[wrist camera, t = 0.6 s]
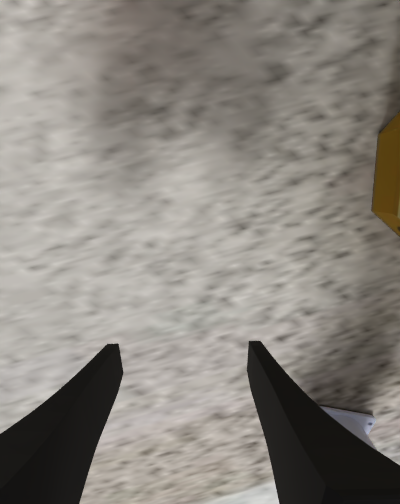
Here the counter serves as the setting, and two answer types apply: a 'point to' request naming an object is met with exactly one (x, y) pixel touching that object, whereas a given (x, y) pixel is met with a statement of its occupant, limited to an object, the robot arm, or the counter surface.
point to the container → (388, 176)
